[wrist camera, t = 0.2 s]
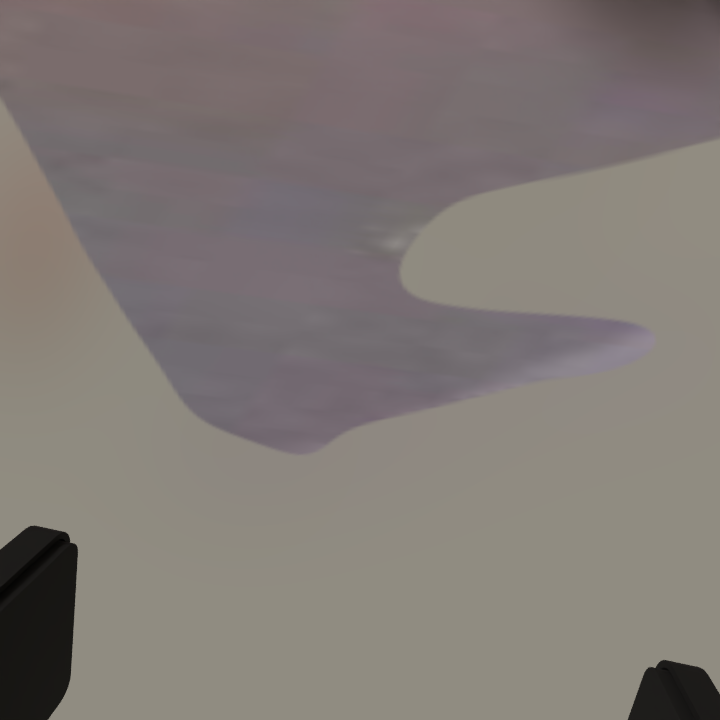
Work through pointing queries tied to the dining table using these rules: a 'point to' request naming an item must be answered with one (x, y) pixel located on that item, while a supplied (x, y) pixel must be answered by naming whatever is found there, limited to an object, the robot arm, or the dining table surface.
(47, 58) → the dining table surface
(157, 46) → the dining table surface
